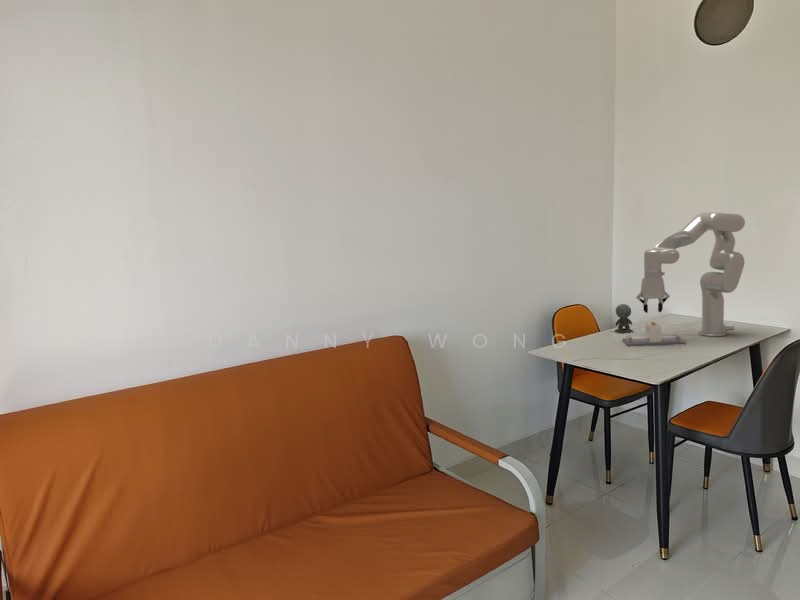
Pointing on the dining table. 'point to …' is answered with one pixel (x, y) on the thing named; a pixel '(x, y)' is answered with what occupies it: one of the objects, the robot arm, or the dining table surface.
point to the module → (653, 332)
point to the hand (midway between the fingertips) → (652, 311)
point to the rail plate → (645, 341)
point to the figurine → (623, 319)
